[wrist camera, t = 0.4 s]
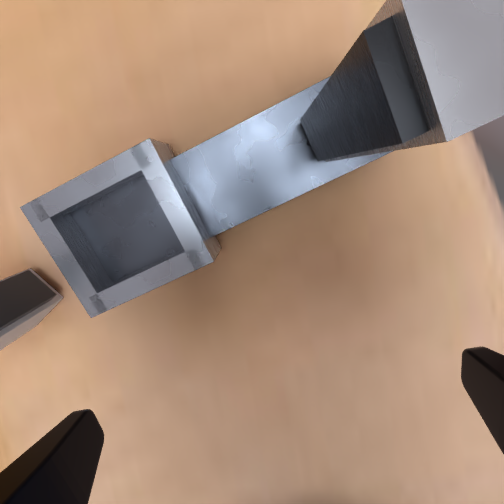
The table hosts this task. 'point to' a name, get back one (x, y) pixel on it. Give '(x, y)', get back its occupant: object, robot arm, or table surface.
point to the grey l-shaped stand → (275, 151)
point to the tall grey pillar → (24, 304)
